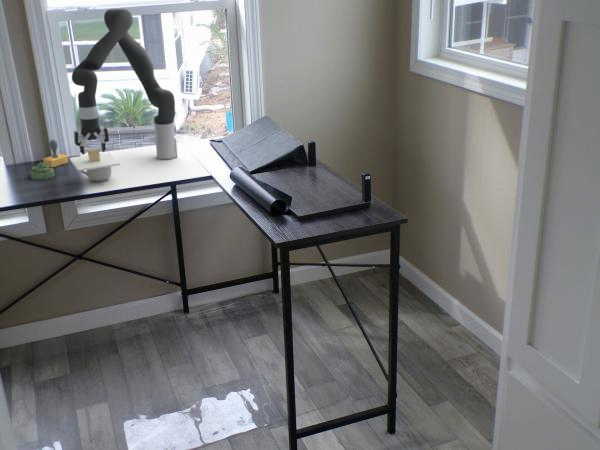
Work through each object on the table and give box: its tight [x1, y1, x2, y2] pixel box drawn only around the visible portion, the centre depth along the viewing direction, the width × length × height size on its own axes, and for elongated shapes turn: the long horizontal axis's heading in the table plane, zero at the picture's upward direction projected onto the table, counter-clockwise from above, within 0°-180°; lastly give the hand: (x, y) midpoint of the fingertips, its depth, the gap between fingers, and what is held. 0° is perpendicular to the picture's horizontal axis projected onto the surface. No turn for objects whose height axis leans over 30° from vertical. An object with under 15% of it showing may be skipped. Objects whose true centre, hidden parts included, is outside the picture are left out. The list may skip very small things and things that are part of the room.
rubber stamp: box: [42, 139, 69, 169], centre depth 315 cm, size 10×6×12 cm, turn 150°
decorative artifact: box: [30, 160, 55, 181], centre depth 300 cm, size 10×7×10 cm
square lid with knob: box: [68, 147, 121, 172], centre depth 294 cm, size 18×18×6 cm
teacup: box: [79, 166, 112, 183], centre depth 296 cm, size 14×11×8 cm
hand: (93, 152), depth 293 cm, fingers open, 8 cm apart
